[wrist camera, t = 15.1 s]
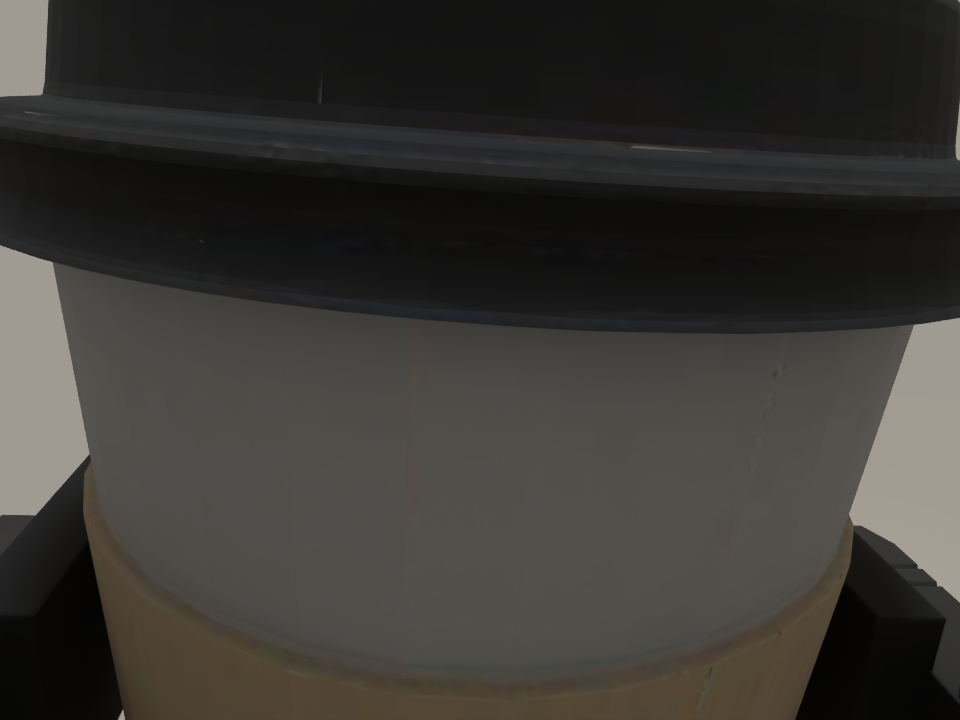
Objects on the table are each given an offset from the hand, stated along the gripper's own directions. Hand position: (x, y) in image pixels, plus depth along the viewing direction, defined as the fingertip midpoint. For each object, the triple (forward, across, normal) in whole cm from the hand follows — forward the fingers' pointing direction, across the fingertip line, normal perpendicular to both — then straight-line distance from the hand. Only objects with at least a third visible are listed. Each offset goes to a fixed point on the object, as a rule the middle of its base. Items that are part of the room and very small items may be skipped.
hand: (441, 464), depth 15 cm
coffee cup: (-5, 0, -8) cm, 9 cm away
